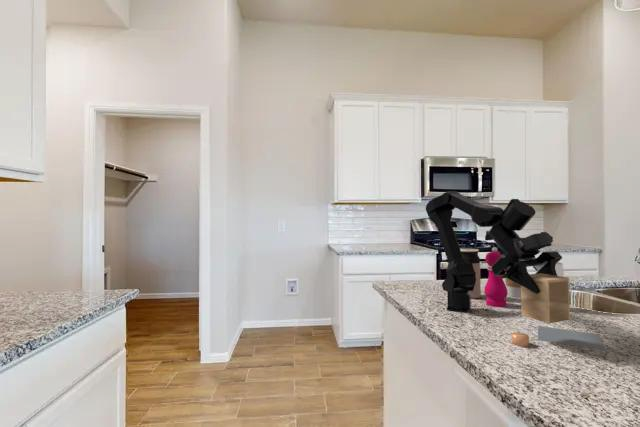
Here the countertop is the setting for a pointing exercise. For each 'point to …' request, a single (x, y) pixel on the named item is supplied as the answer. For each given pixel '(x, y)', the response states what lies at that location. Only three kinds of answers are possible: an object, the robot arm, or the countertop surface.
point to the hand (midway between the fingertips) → (549, 291)
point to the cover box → (547, 299)
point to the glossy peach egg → (520, 339)
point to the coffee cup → (513, 288)
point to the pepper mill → (494, 283)
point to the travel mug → (473, 257)
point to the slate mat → (570, 337)
